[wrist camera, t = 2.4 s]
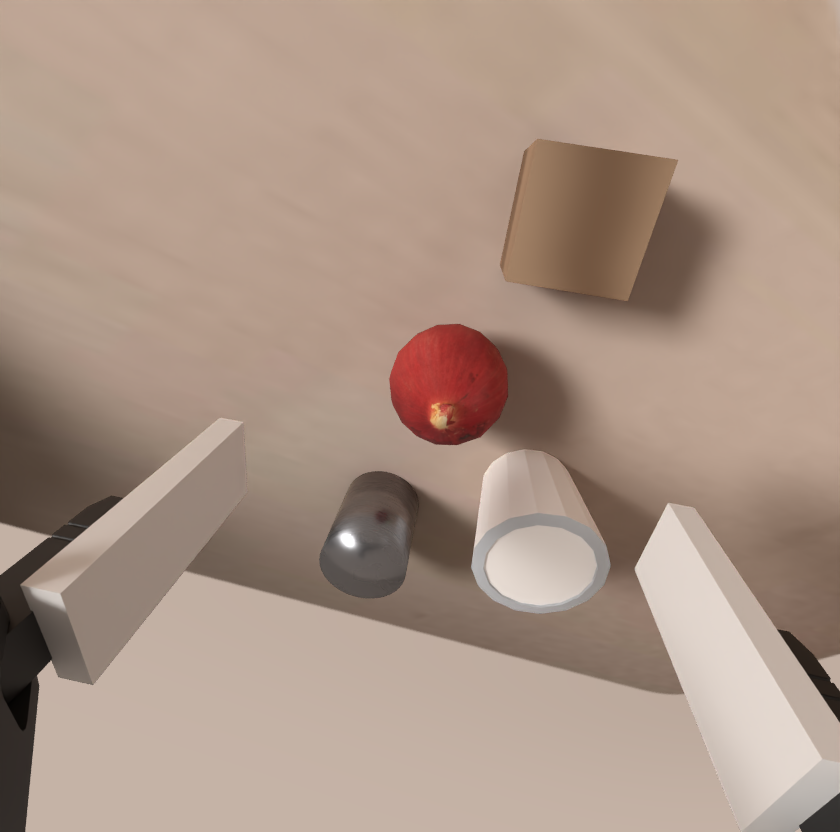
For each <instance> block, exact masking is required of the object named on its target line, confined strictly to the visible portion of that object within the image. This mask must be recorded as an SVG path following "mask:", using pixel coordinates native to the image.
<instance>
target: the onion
mask: <svg viewBox="0 0 840 832" xmlns="http://www.w3.org/2000/svg"><path fill="white" fill-rule="evenodd" d="M389 380H390V389H391V399H392V403H393V406H394V408H395V410H396V412H397V414H398V416H399V418H400V420H401V421H402V423H403V424H404V425H405V426H406V427H408V428H409V429H410V430H411V431H412V432H413V433H414V434H415V435H416V436H418V437H420V438H422V439H424V440H427V441H429V442H431V443H434V444H439V445H459V444H462V443H465V442H467V441H470V440H473V439H476V438H479V437H481V436H482V435H483V434H484V433H485V432H486V431H487V430H488V429H489V428H490V427H491V426H492V425H493V424H494V423H495V422H496V421H497V419H498V418H499V417H500V415H501V412H502V410H503V407H504V405H505V402H506V400H507V397H508V380H507V368H506V366H505V364H504V362H503V360H502V357H501V355H500V353H499V351H498V349H497V348H496V347H495V346H494V345H493V344H492V343H491V342H490V341H489V340H488V339H487V338H486V337H485V336H484V335H483V334H482V333H480V332H479V331H476V330H474V329H471V328H468V327H466V326H463V325H461V324H449V325H436V326H434V327H432V328H429V329H427V330H425V331H423V332H421V333H418V334H417V335H416V336H415V337H413V338H412V339H411V340H410V341H409V342H408V343H407V344H406V345H405V346H404V347H403V348H402V349H401V350H400V351H399V352H398V355H397V358H396V360H395V363H394V366H393V369H392V371H391V375H390V379H389Z"/></svg>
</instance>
